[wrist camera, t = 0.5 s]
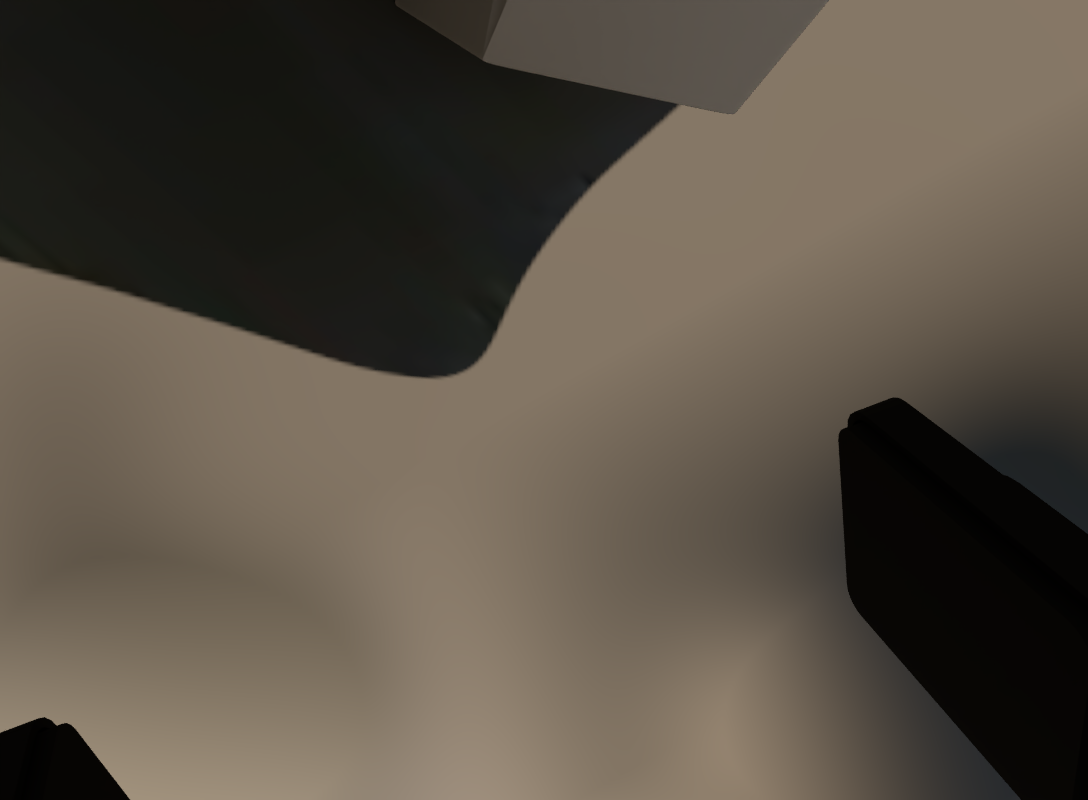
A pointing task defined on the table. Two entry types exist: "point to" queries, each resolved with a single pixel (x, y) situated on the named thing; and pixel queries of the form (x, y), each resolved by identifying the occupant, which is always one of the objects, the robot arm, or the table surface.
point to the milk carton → (630, 42)
